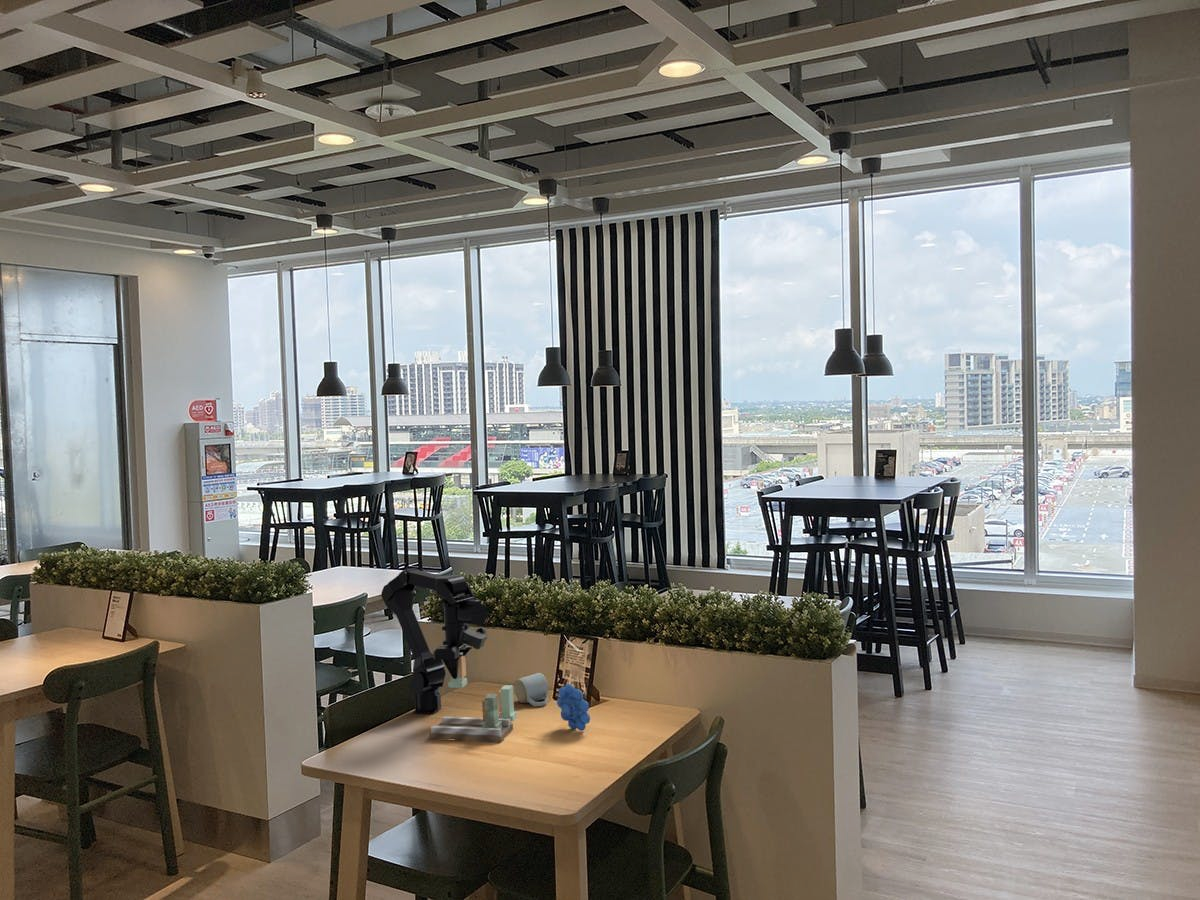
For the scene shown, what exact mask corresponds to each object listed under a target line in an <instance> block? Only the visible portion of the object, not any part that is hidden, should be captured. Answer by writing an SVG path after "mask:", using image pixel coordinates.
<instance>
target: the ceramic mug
mask: <svg viewBox="0 0 1200 900" xmlns="http://www.w3.org/2000/svg"><path fill="white" fill-rule="evenodd" d="M549 689H550V688H549V683H548V681H547V678H546V677H545V675H544V674H543V673H541V672H536V673H534V674H531V675H528V676H523V677H520V678H518V679H517V680H516V681H515V683H514V686H513V692H514V695H515V698H516V700H517V701H518V702H520V703H521V704H528V703H529V704H530V705H531V706H534V707H537V706H540V707H544V706H545V705H546V704H547V703H548V700H549V699H548V698H549ZM541 700H544V701H541Z"/></svg>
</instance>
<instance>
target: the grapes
mask: <svg viewBox="0 0 1200 900" xmlns="http://www.w3.org/2000/svg"><path fill="white" fill-rule="evenodd" d="M558 695H559V697H558V698H557V700H556V705H557V706H558V708H559V709H561V711H560V717H561V719H562V720H563V721H566V722H567V725H568V727H569V728H570V729H571V730H578V731H581V732H583V731H585V729H586V725H587V724H589V723H590V721H591V715H590V714H589V713H588V711H589V709H590V706H589V705H590V704H589V703H588V701H587V700H585V699H584V698H583V697H584V694H583V692H582V690H581V689H578V688H575V687H574V685H572V684H570V683H567V684H566V685H565V686H563V687H560V688H559V689H558Z"/></svg>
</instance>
